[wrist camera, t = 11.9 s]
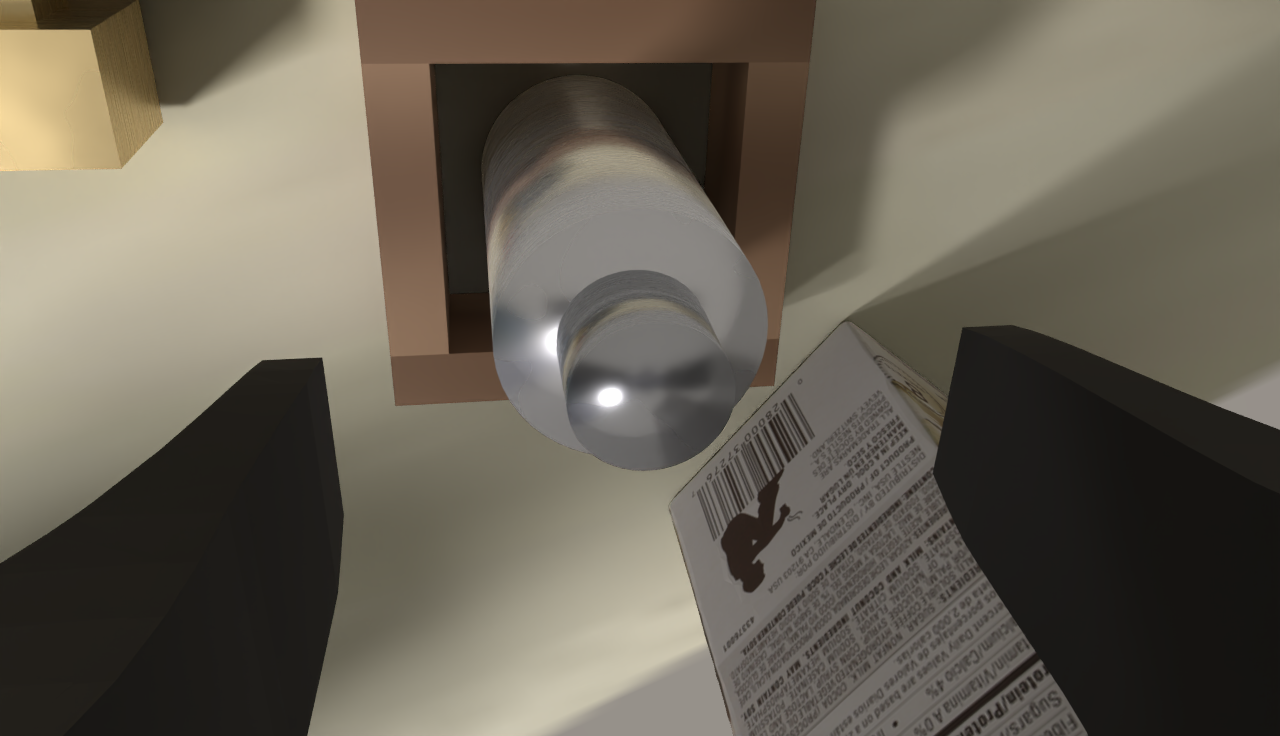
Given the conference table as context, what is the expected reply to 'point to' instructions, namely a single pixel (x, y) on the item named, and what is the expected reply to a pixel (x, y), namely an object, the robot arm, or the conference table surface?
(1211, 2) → the conference table surface
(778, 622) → the coffee box
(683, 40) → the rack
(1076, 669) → the robot arm
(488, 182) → the silver knobbed cylinder
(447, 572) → the conference table surface
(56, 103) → the key
